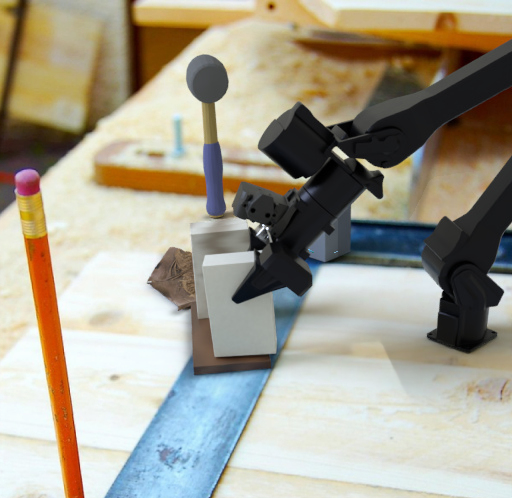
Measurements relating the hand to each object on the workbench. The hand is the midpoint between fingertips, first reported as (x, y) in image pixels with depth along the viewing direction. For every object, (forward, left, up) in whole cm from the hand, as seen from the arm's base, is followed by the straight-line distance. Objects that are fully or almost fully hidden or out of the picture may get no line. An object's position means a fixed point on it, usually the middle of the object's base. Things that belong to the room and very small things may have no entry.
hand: (232, 294), depth 97 cm
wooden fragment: (-12, -28, -10) cm, 32 cm away
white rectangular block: (-1, +1, -8) cm, 8 cm away
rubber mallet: (-36, -46, -10) cm, 59 cm away
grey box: (-35, -16, -10) cm, 39 cm away
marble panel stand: (-4, -6, -10) cm, 12 cm away
